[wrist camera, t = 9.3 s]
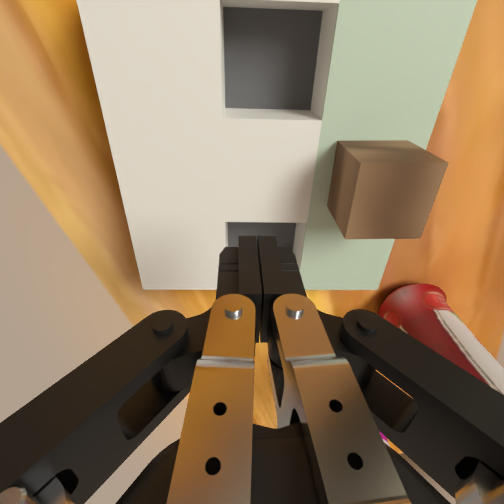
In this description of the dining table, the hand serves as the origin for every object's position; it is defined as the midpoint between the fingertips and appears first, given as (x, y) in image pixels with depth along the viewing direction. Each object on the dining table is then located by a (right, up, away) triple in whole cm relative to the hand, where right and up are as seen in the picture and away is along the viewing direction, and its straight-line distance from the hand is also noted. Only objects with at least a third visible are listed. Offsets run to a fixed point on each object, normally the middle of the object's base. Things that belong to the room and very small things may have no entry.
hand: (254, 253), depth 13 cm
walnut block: (+8, +5, +8) cm, 12 cm away
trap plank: (+1, +7, +11) cm, 13 cm away
